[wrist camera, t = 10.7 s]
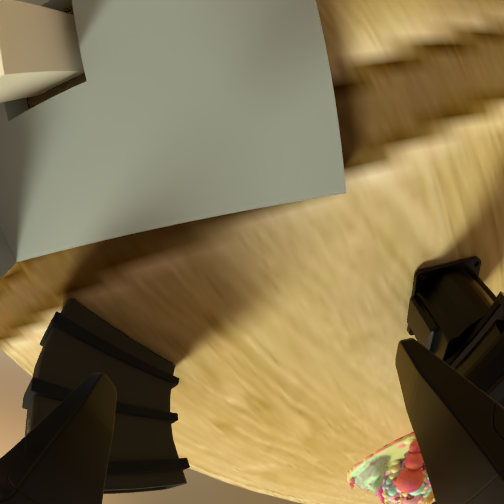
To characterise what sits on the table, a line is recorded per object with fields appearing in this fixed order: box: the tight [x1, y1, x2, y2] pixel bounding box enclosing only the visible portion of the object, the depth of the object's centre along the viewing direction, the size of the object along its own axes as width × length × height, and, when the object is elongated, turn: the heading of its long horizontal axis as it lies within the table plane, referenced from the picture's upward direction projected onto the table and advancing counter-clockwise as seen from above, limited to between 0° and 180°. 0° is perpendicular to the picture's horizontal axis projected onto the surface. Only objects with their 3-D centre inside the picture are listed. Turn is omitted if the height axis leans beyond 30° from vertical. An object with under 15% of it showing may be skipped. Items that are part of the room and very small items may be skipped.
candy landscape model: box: [347, 433, 435, 504], centre depth 38 cm, size 25×24×9 cm
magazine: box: [22, 298, 190, 494], centre depth 20 cm, size 4×13×15 cm, turn 47°
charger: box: [0, 0, 85, 103], centre depth 11 cm, size 4×4×8 cm
